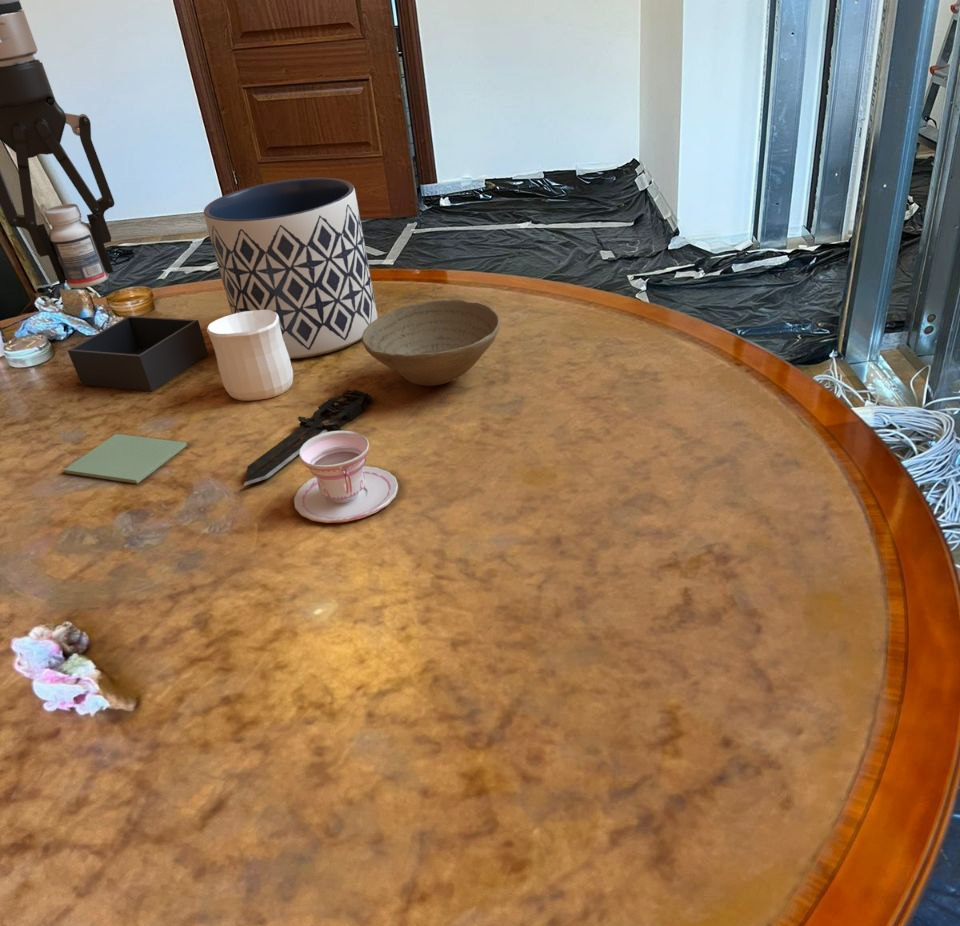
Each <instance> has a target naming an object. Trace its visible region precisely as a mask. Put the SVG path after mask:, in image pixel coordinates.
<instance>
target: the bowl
mask: <svg viewBox="0 0 960 926" xmlns="http://www.w3.org/2000/svg"><path fill="white" fill-rule="evenodd" d="M500 327H501V318H500V316H499V314H498V313H497V312H496V311H495V310H494V309H493V308H491V307H490V306H487V305H485V304H481V303H479V302H469V301H468V302H467V301H465V300H460V299H450V300H446V299H439V300H438V299H437V300H428V301H424V302H423V301H422V302H418V303H414V304H409V305H405V306H403V307H399V308H396V309H393V310H391V311H388V312H387V313H384V314H382V315H381V316H378V319H376V320H375V321H373V322H372V323H371V324H369V326H368V327H367V328H366V329H365V330H364V332H363V336H362V339H361V343H362V345H363V347H364V349H365V351H366V352H367V353H368V354H369V355H370V356H372V357H373V358H374V359H375V360H377V361H378V362H380V363H381V364H383V365H385V366H386V367H387V368H389V369H390V370H392V371H394V372H396V373H397V374H399V375H400V376H402V377H403V378H404V379H406V381H408V382H409V383H412V384H414V385H418V386H428V387H430V386H441V385H445V384H448V383H450V382H452V381H454V380H457V379H459V378H460V377H462V376H463V375H464V374H466V373H467V372H468V371H469V370H470V369H471V368H473V367H474V365H475V364H476V363H477V362H478V361H479V360H480V359H481V357H482V356H483V355H484V354H485V353H486V351H487V350H488V349H489V348H490V346H492V344H493V343H494V342H495V339H496V338H497V335H498V333H499V332H500Z"/></svg>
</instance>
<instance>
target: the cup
mask: <svg viewBox="0 0 960 926" xmlns="http://www.w3.org/2000/svg"><path fill="white" fill-rule="evenodd" d="M206 334H207V335H208V337H209V339H210V341H211V344H212V347H213V350H214V353H215V357H216V363H217V368H218V373H219V375H220V378H221V383H222V385H223V388H224V389H225V391H226V392H227V393H228V395H229V396H230V397H231V398H232V399H235V400H237V401H245V402H247V401H258V400H259V401H260V400H267V399H271V398H275V397H277V396H281V395H283V394H284V393H286V392H288V391H289V390H290V388H291V387H292V386H293V383H294V369H293V366H292V362H291V359H290V358H289V355H288V352H287V349H286V346H285V343H284V340H283V337H282V333H281V329H280V325H279V316H278V314H277V313H276V312H274V311H271V310H254V311H245V312H240V313H235V314H232V313H231V314H229V315H226V316H225V315H224V316H223V317H220V318H217V319H215V320H214V321H211V322H210V323H209V324H208V326H207V328H206Z"/></svg>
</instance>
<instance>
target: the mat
mask: <svg viewBox="0 0 960 926" xmlns="http://www.w3.org/2000/svg"><path fill="white" fill-rule="evenodd" d="M186 447H188V444H187V441H180V440H179V441H177V440H171V439H170V440H169V439H161V438H154V437H146V436H139V435H138V436H137V435H129V434H121V433H115V434H114V435H113V434H112V436H110V437H109V438H108V439H106V440H105V441H103V442H102V443H100V444H99V445H98V446H96V447H94V448H93V449H92V450H91V451H89V452H87V453H86V454H84V455H83V456H82V457H80V458H79V459H77V460H76V461H74V462H72V464H70V465H68V466H67V467H66V468H64V469H63V471H64V473H65V474H69V475H76V476H83V477H90V478H95V479H96V478H97V479H103V480H110V481H115V482H124V483H128V484H129V483H130V484H139V483H141V482H142V481H143V480H144V479H145V478H147V477H148V476H150V475H152V474H153V472H155V471H156V470H158V469H159V468H160V467H161V466H163V465H164V464H165V463H167V462H168V461H169V460H171V459H172V458H173V457H174V456H176V455H177V454H179V453H180V452H181V451H182V450H183V449H185V448H186Z"/></svg>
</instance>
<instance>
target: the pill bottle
mask: <svg viewBox="0 0 960 926" xmlns="http://www.w3.org/2000/svg"><path fill="white" fill-rule="evenodd" d="M44 215H45V218H46V221H47V223H48V225H50V226H51V229H50V230H49V232H48V235H49V239H50V242H51V245H52V247H53V250H54V252H55V255H56V257H57V260H58V262H59V265H60V267H61V270H62V272H63V275H64V277H65V280H66V285H67V286H68V287H70V288H73V289H85V288H89V287H95V286H97V285H99V284H102V283H104V282H105V281H107V280H108V278H109V276H110V275H109V273H107V270H106V267H105V265H104V262H103V259H102V256H101V254H100V251H99V248H98V245H97V243H96V240H95V237H94V234H93V232H92V229H91V226H90V224H89V223H87V222H85V221H82V220H81V219H82V213H81V211H80V208H79V206H78V204H76V203H66V204H60V205H56V206H52V207H49V208H48V209H46V210H45V211H44Z"/></svg>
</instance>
